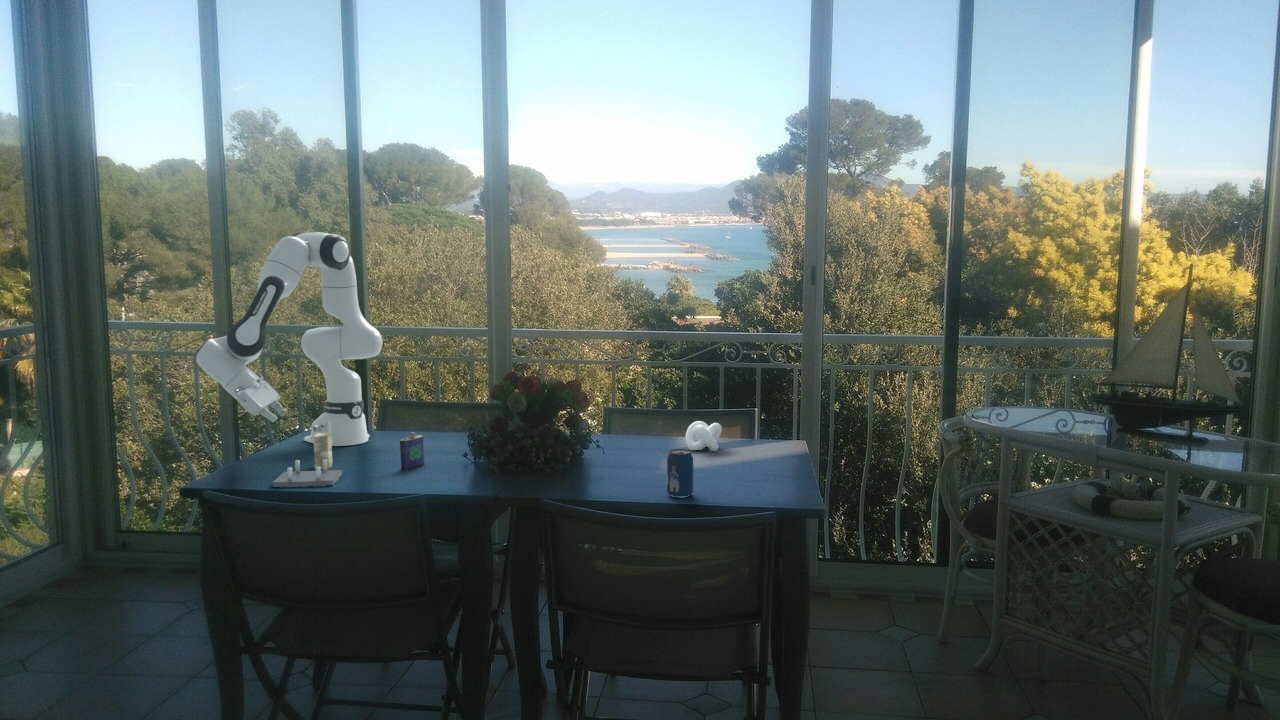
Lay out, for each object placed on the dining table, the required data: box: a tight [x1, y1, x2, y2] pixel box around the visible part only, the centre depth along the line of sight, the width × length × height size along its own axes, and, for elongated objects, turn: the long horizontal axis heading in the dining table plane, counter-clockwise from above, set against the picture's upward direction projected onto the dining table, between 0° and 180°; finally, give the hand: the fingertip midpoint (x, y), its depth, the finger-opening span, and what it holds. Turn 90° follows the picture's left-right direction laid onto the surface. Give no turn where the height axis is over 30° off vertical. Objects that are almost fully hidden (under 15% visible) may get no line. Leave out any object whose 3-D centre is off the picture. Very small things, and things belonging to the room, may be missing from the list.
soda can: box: [666, 448, 694, 496], centre depth 245 cm, size 7×7×12 cm
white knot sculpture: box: [685, 420, 723, 452], centre depth 299 cm, size 11×12×9 cm
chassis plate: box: [272, 459, 343, 488], centre depth 260 cm, size 16×12×5 cm
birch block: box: [313, 433, 333, 470], centre depth 276 cm, size 4×5×10 cm
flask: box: [399, 431, 425, 471], centre depth 276 cm, size 9×3×11 cm, turn 152°
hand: (280, 417), depth 273 cm, fingers open, 8 cm apart
